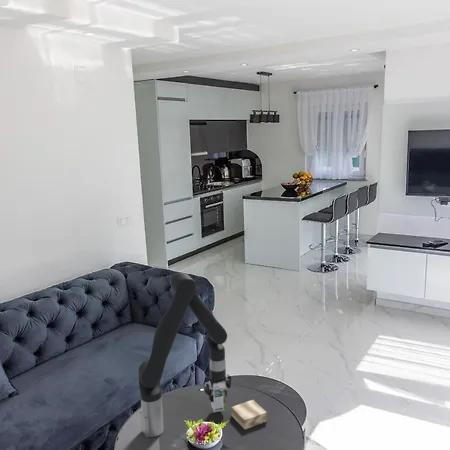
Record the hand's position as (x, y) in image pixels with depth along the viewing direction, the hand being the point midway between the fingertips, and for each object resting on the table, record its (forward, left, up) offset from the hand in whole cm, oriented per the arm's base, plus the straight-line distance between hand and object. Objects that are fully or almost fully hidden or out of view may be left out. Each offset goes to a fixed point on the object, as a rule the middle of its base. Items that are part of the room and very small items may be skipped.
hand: (218, 398), depth 219 cm
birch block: (+9, -12, -8) cm, 17 cm away
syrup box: (0, 0, -5) cm, 5 cm away
